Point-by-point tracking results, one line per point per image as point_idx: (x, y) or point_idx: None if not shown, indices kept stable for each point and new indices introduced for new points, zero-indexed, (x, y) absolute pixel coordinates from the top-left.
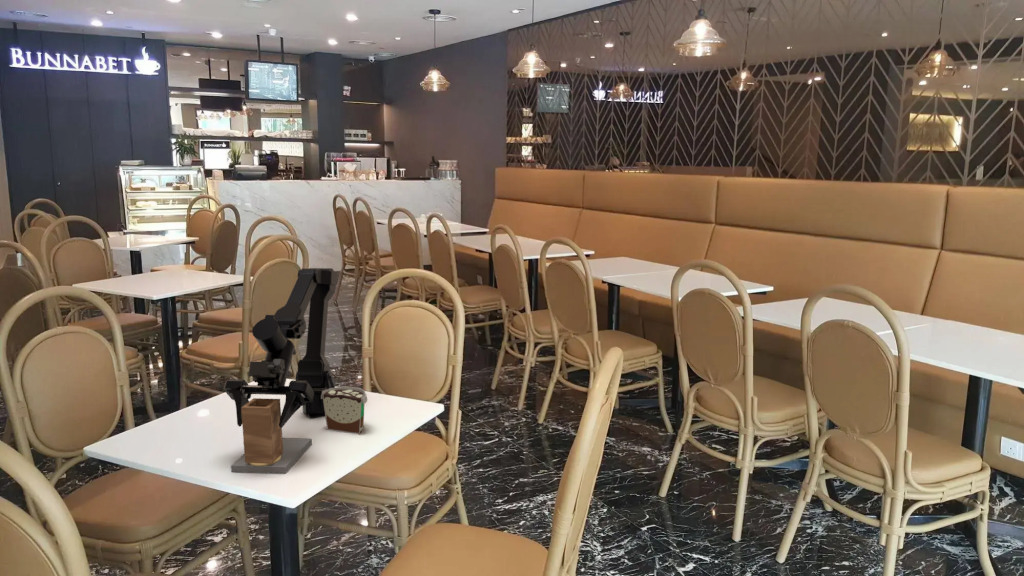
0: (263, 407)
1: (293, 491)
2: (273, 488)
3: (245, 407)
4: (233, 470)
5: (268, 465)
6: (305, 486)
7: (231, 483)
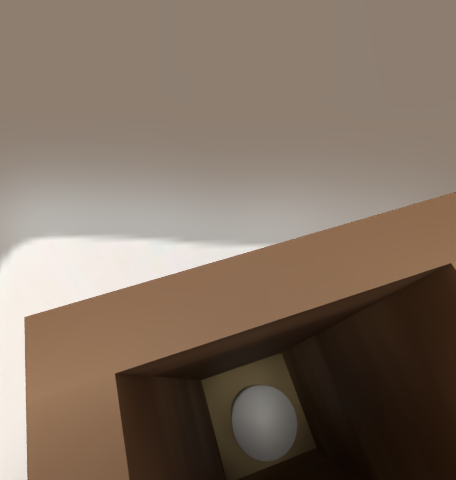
0: (143, 318)
1: (32, 274)
2: (107, 268)
3: (417, 212)
4: None
5: None
6: (5, 317)
7: (257, 248)
